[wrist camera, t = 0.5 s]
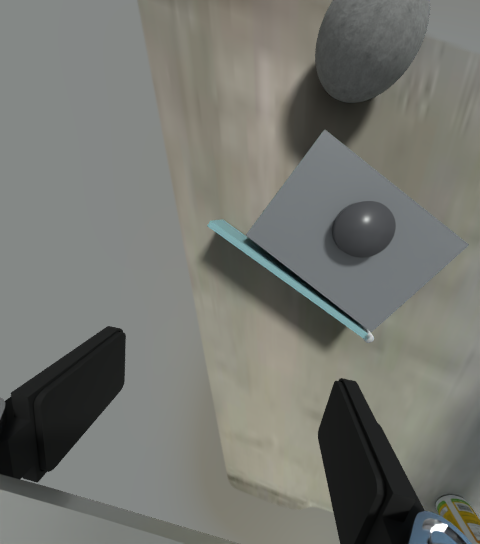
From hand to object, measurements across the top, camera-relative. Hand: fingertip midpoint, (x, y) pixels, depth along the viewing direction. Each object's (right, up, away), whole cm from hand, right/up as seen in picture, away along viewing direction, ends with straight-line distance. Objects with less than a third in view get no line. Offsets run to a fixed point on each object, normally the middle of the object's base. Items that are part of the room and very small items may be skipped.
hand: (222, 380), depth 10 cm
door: (+8, +5, +25) cm, 27 cm away
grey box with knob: (+15, +10, +23) cm, 29 cm away
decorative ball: (+15, +30, +18) cm, 38 cm away
